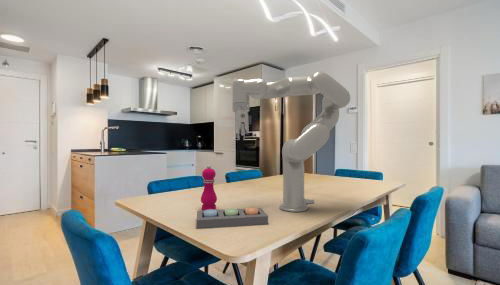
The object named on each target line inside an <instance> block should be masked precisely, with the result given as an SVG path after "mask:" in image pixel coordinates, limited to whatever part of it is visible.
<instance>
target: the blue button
mask: <svg viewBox="0 0 500 285" xmlns="http://www.w3.org/2000/svg"><path fill="white" fill-rule="evenodd" d="M217 210H218V209H215V210H214V209H208V210H203V211H204V217H217Z"/></svg>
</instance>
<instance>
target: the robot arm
mask: <svg viewBox="0 0 500 285" xmlns="http://www.w3.org/2000/svg"><path fill="white" fill-rule="evenodd" d="M317 94H321V95H322V96H323V98H322V101H321V102H322V103H321V105H322V106H321V107H322V110H321V113H320V114H319V115H317V117H316V118H314V119H313V120H312V121H311V122H309V123H308V124H307V125H306V126H304V128H303V129H302V131H301V133H300V135H299V136H298V137H297V138H290V139H288V140H286V141H285V142H284V144H283V146H282V148H281V149H282V150H281V154H282V171H283V172H282V174H283V175H282V203H280V205H279V209H281V210H282V211H285V212H291V213H297V212H298V213H301V212H305V211H307V210H308V205H315V199H308V198H305V161H306V160H308V159H309V158H310V157H311V156H313V155H314V154H315V153H316V152H317V151H318V150H320V149H321V148H322V147H323V146H324V145H325V144H326V143H327V142H328V140H329V139H330V131H331V130H332V129H333V128H334V127H335V126H336V125H337V123H338V122H339V119H340V109H344V108H345V107H347V106H348V105H349V103H350V102H351V94H350V92H349V90H348V89H346V87H344V86H343V85H342V84H340V83H339V82H338V81H337V80H336V79H334V78H333V77H332V76H331V75H330V74H328V73H326V72H324V71H316V72H315V73H313V74H312V75H303V76H300V75H298V76H288V77H284V78H282V79H279V80H277V81H272V82H267V81H265V79H262V78H251V79H243V78H239V79H235V80H233V82H232V112H233V113H234V131H235V134H236V135H237V136H236V137H237V141H236V150H245V148H246V141H245V138H246V134H249V132H250V131H249V130H250V129H249V128H250V126H249V112H250V97H251V99H254V100H265V99H267V100H269V99H276V98H277V99H278V98H286V97H296V96H310V95H317Z"/></svg>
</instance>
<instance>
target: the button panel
mask: <svg viewBox="0 0 500 285" xmlns="http://www.w3.org/2000/svg"><path fill="white" fill-rule="evenodd" d="M246 208H247V207H246ZM246 208H245V207H244V208H237V209H238V215H237V216H225V209H216V210H217V217H204V210H197V211H196V229H197V230H198V229H213V228H214V229H215V228H229V227H231V228H232V227H245V226H262V225H263V226H264V225H269V216H268V214H267V213H266V212H265V211H264V210H263V208H262V207H257V208H258V214H255V215H245V209H246Z"/></svg>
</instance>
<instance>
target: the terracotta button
mask: <svg viewBox="0 0 500 285" xmlns="http://www.w3.org/2000/svg"><path fill="white" fill-rule="evenodd" d="M258 208H259V207H253V206H252V207H250V206H249V207H246V209H245V208H244V209H245V215H255V214H258Z"/></svg>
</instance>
